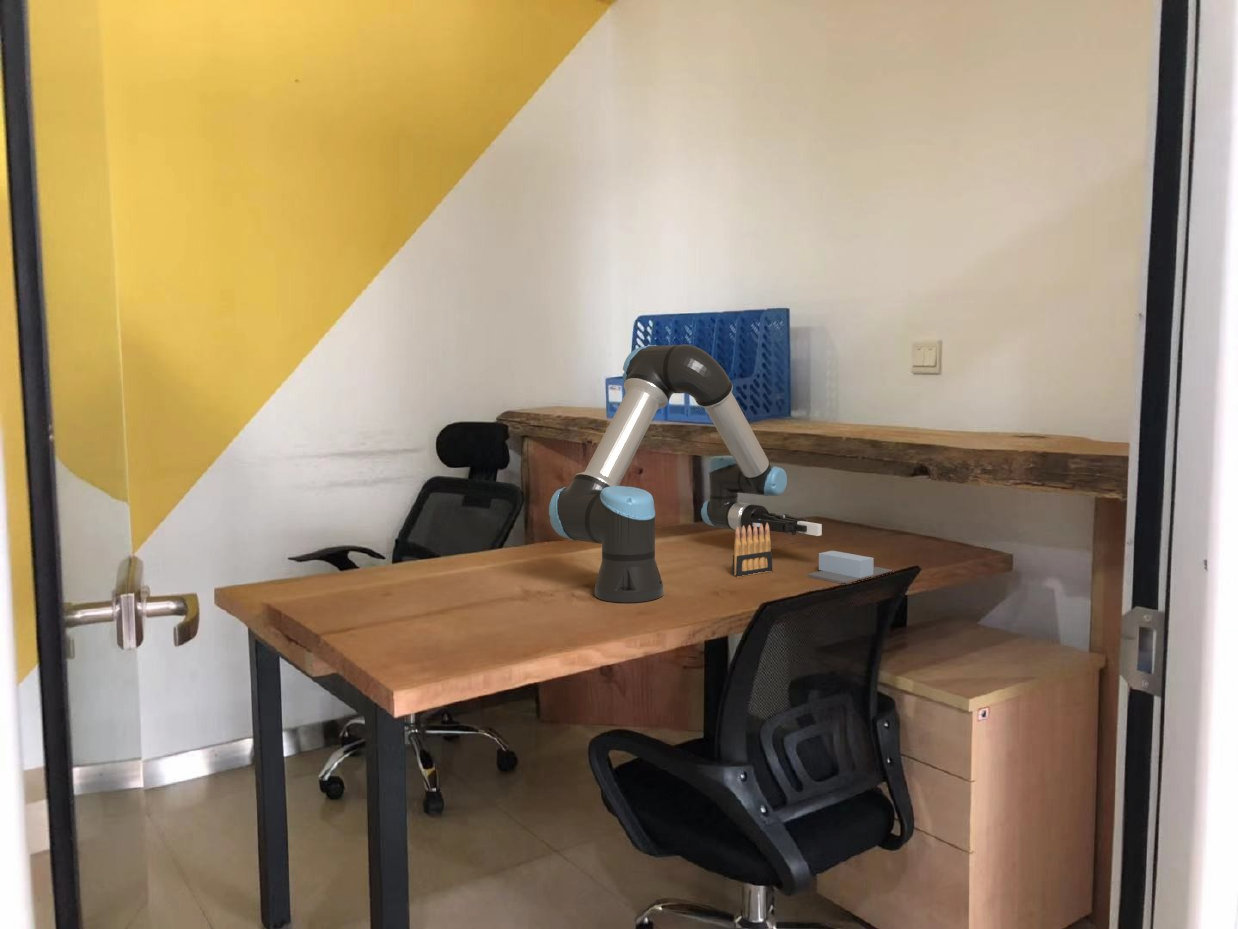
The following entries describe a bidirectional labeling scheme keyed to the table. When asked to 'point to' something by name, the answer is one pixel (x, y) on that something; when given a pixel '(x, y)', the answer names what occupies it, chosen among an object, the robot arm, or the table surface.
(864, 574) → the block
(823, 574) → the mat
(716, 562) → the table surface
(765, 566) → the ammunition clip
